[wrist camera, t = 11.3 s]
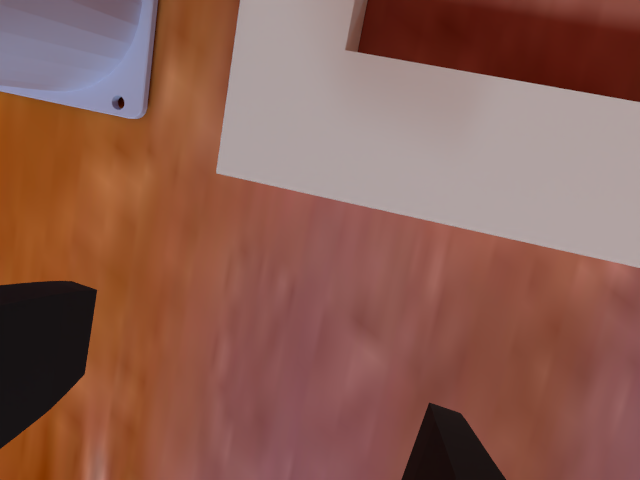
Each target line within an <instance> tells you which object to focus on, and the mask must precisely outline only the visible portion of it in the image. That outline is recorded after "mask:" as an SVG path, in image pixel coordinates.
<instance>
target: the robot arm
mask: <svg viewBox="0 0 640 480" xmlns="http://www.w3.org/2000/svg"><path fill="white" fill-rule="evenodd" d="M157 6H158V0H0V91H2V92H6V93H11V94H16V95H21V96H25V97H30V98H35V99H40V100H44V101H49V102H54V103H58V104H63V105H68V106H73V107H77V108H82V109H87V110H91V111H96V112H101V113H106V114H110V115H115V116H120V117H125V118H129V119H139V118H141V117H143V116H144V115H145V113H146V110H147V105H148V95H149V85H150V75H151V65H152V55H153V45H154V35H155V26H156V16H157ZM120 97H122V98H123V99H124V103H125V104H124V107H123V108H122V109H120V107H119V106H118V100H119V98H120ZM96 294H97V290H96V289H93V288H90V287H87V286H84V285H81V284H78V283H75V282H72V281H47V282H32V283H21V284H10V285H0V449H1V448H2V447H3V446H4V445H6V444H7V443H8V442H10V441H11V440H12V439H14V438H15V437H16V436H17V435H19V434H20V433H21V432H22V431H24V430H25V429H26V428H27V427H29V426H30V425H31V424H33V423H34V422H35V421H36V420H38V419H39V418H40V417H41V416H43V415H44V414H45V413H46V412H47V411H49V410H50V409H51V408H52V407H53V406H54V405H55V404H56V403H57V402H58V401H59V400H60V399H61V398H62V397H63V396H64V395H65V394H66V393H67V392H68V391H69V390H70V389H71V388H72V387H73V386H74V385H75V384H76V383H77V382H78V380H79V379H80V378H81V377H82V376H83V375H84V374H85V368H86V361H87V354H88V348H89V341H90V334H91V327H92V321H93V314H94V307H95V301H96ZM402 480H506V479H505V477H504V476H503V475H502V473H501V472H500V470H499V469H498V467H497V466H496V464H495V463H494V462H493V460H492V459H491V457H490V456H489V454H488V453H487V451H486V450H485V448H484V447H483V445H482V444H481V442H480V441H479V439H478V438H477V436H476V435H475V433H474V432H473V430H472V429H471V427H470V426H469V424H468V423H467V421H466V420H465V418H464V417H463V416H462V414H461V413H458V412H455V411H452V410H450V409H447V408H444V407H441V406H438V405H435V404H432V403H429V405H428V407H427V410H426V413H425V416H424V419H423V421H422V424H421V427H420V430H419V433H418V435H417V438H416V441H415V444H414V446H413V449H412V452H411V455H410V458H409V460H408V463H407V466H406V469H405V472H404V474H403V477H402Z"/></svg>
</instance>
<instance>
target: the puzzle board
mask: <svg viewBox="0 0 640 480" xmlns="http://www.w3.org/2000/svg"><path fill="white" fill-rule="evenodd" d="M367 1H368V0H240V5H239V12H238V20H237V27H236V34H235V41H234V48H233V56H232V63H231V70H230V77H229V84H228V92H227V99H226V106H225V113H224V120H223V127H222V135H221V142H220V149H219V156H218V163H217V171H216V173H218V174H222V175H227V176H231V177H235V178H240V179H244V180H249V181H253V182H258V183H262V184H267V185H271V186H276V187H280V188H285V189H289V190H294V191H298V192H303V193H307V194H312V195H316V196H321V197H325V198H330V199H334V200H338V201H343V202H347V203H352V204H356V205H361V206H365V207H370V208H374V209H379V210H383V211H388V212H392V213H397V214H401V215H406V216H410V217H415V218H419V219H424V220H428V221H433V222H437V223H441V224H446V225H450V226H455V227H459V228H464V229H468V230H473V231H477V232H482V233H486V234H491V235H495V236H500V237H504V238H509V239H513V240H518V241H522V242H527V243H531V244H536V245H540V246H544V247H549V248H553V249H558V250H562V251H567V252H571V253H576V254H580V255H585V256H589V257H594V258H598V259H603V260H607V261H612V262H616V263H621V264H625V265H630V266H634V267H639V268H640V102H636V101H630V100H624V99H619V98H613V97H607V96H602V95H596V94H590V93H585V92H579V91H573V90H568V89H562V88H557V87H551V86H545V85H540V84H534V83H528V82H523V81H517V80H511V79H506V78H500V77H494V76H489V75H483V74H477V73H472V72H466V71H460V70H455V69H449V68H444V67H438V66H432V65H427V64H421V63H415V62H410V61H404V60H398V59H393V58H387V57H381V56H376V55H370V54H364V53H359V52H358V47H359V42H360V37H361V32H362V27H363V21H364V16H365V11H366V6H367Z"/></svg>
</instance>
